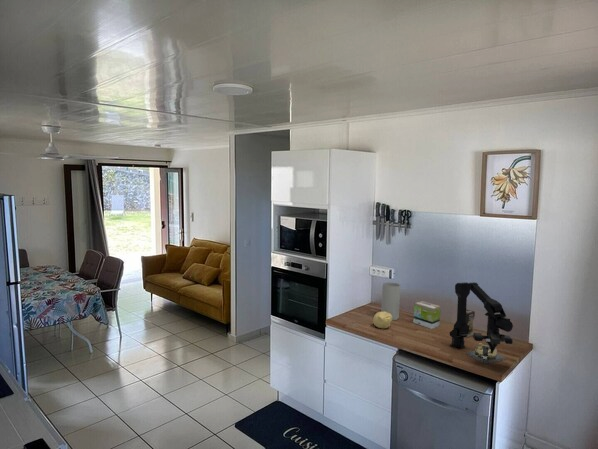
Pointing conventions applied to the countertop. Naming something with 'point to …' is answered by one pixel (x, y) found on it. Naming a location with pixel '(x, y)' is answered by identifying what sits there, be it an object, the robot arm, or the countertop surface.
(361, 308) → the countertop surface
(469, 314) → the coffee box
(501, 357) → the mounting plate
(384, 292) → the cylinder vase
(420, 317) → the tea box
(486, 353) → the yellow-green irregular lump
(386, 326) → the yellow crumpled ball
